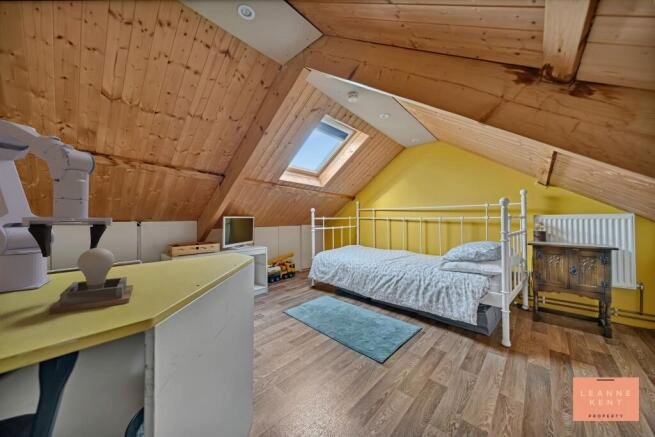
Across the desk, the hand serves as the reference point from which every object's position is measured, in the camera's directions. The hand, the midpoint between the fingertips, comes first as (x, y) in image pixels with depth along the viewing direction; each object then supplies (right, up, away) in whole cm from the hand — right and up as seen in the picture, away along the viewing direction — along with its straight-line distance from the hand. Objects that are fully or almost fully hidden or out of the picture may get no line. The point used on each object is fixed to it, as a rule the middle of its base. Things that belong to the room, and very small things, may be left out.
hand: (70, 255), depth 56 cm
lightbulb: (+9, -9, -3) cm, 13 cm away
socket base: (+9, -10, -3) cm, 14 cm away
